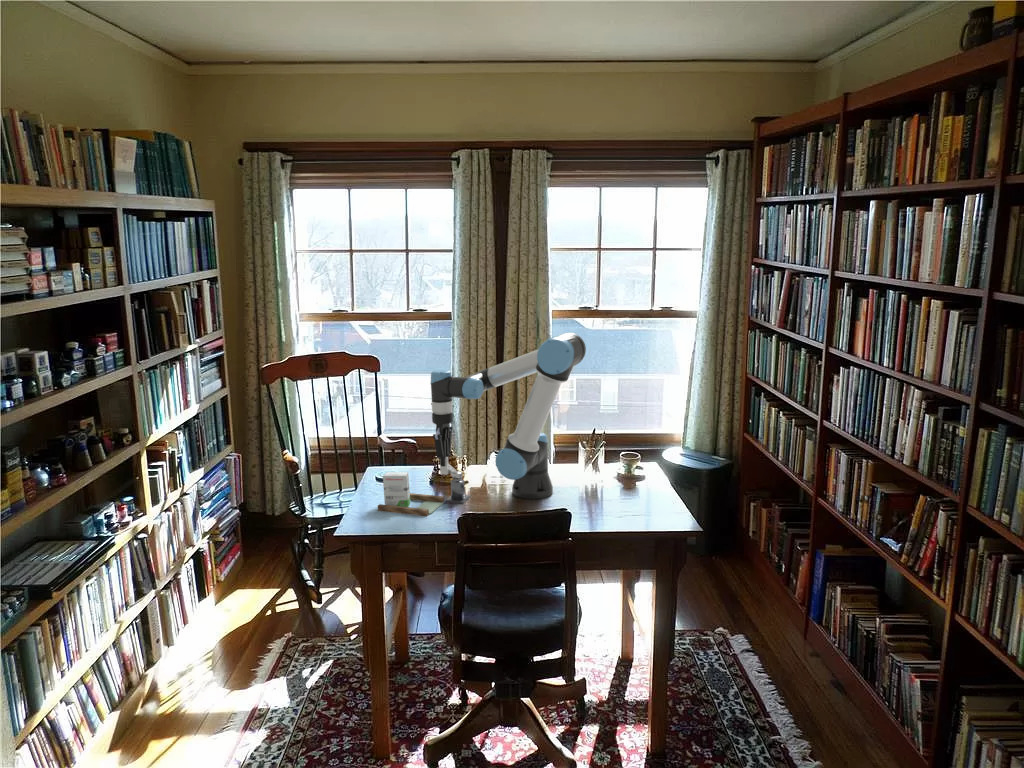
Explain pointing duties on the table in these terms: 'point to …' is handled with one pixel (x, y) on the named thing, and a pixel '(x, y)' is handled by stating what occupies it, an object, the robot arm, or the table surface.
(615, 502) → the table surface
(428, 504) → the front pad
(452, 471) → the crank
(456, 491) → the winch drum
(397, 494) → the ink box
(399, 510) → the rails
